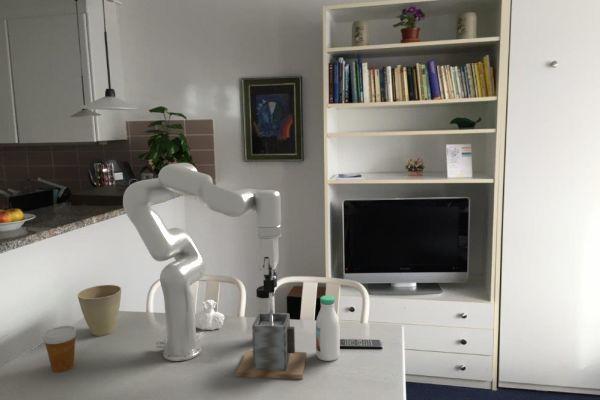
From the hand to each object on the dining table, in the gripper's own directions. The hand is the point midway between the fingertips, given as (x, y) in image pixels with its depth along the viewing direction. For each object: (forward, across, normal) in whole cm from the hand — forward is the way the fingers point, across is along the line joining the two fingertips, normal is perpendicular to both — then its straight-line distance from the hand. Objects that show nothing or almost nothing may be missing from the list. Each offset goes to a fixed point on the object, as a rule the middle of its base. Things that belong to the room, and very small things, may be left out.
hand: (270, 288), depth 140 cm
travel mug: (+26, -18, -5) cm, 32 cm away
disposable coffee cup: (+26, +5, -67) cm, 72 cm away
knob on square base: (+13, 0, 0) cm, 13 cm away
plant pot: (+26, -21, -68) cm, 76 cm away
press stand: (+25, 0, 0) cm, 25 cm away
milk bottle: (+26, -8, +17) cm, 32 cm away
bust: (+26, -28, -29) cm, 48 cm away
